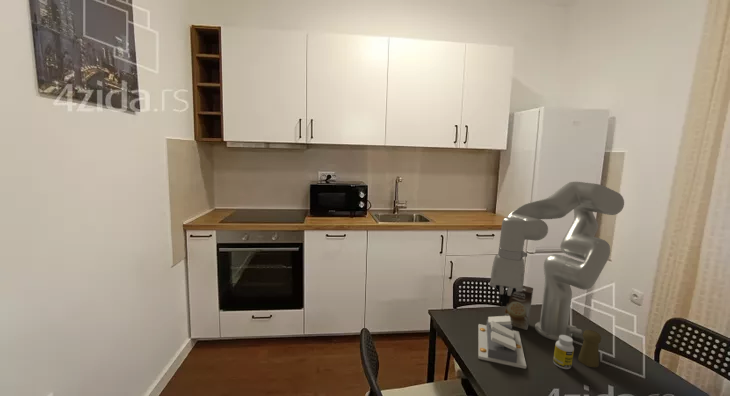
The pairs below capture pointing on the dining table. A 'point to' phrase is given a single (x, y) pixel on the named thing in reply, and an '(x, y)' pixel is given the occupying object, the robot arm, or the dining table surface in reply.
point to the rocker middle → (502, 330)
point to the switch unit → (499, 348)
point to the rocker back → (500, 320)
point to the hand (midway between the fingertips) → (503, 304)
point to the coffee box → (520, 307)
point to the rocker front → (503, 340)
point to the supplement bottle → (563, 352)
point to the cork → (590, 349)
